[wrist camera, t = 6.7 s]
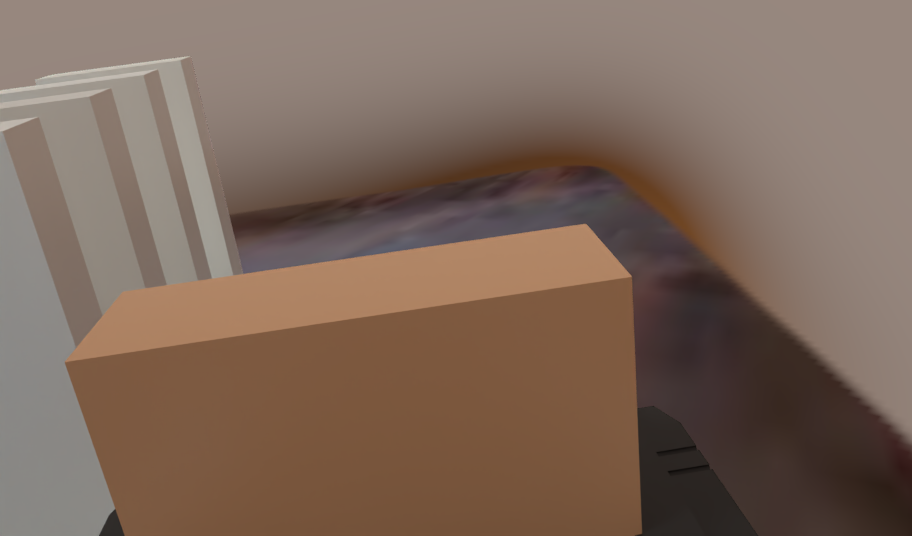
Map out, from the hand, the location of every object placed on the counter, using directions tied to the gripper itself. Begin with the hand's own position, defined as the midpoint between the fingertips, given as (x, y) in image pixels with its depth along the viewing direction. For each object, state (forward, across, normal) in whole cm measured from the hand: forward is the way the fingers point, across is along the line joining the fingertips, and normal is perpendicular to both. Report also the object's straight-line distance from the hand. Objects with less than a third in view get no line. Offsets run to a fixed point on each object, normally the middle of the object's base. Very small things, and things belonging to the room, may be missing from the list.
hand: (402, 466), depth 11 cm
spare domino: (-3, 0, +6) cm, 7 cm away
